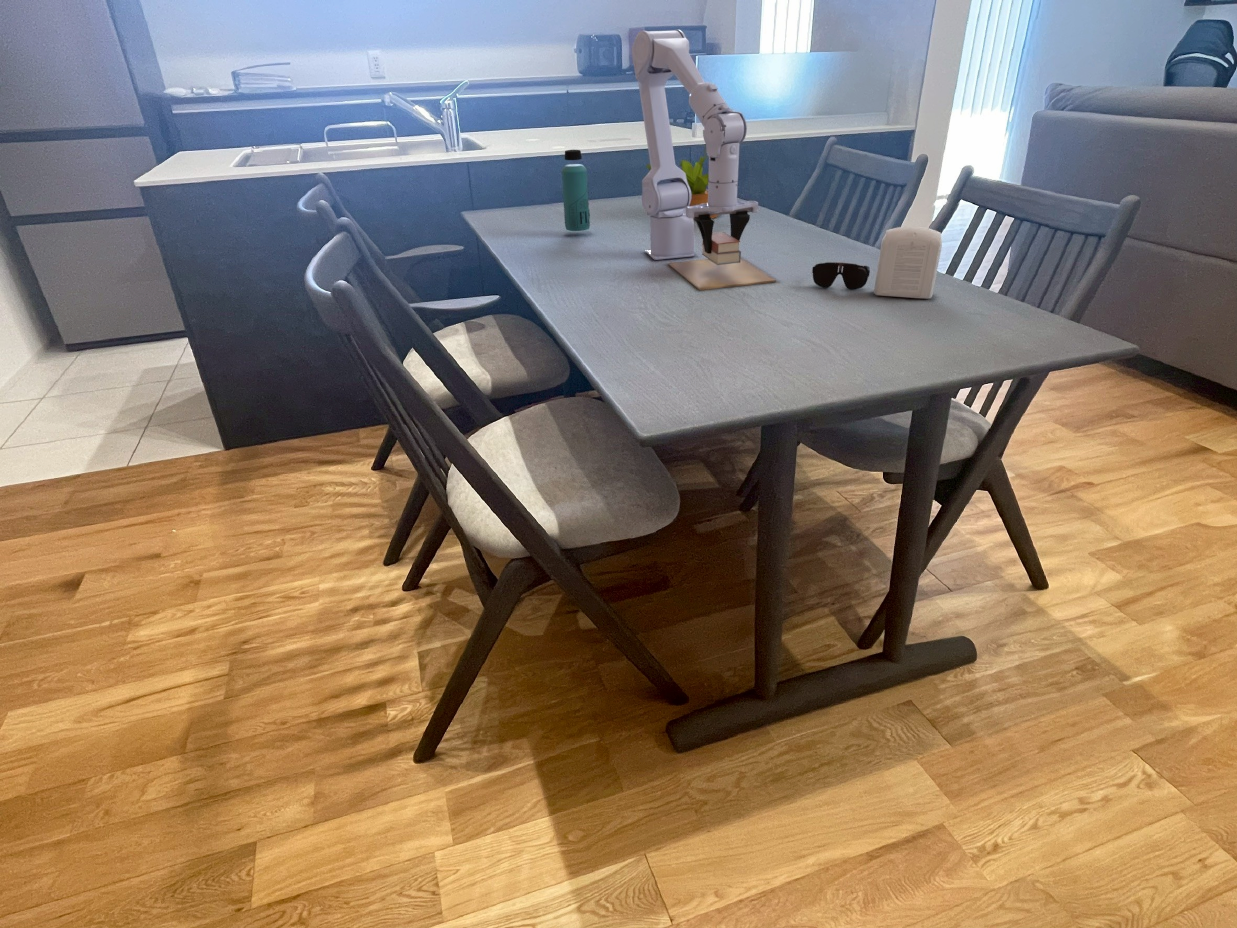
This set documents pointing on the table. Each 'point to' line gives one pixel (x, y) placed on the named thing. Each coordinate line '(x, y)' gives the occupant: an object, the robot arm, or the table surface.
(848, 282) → the sunglasses
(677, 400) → the table surface
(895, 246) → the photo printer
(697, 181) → the decorative plant
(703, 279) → the cork mat
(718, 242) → the book stack
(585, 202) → the beverage bottle
